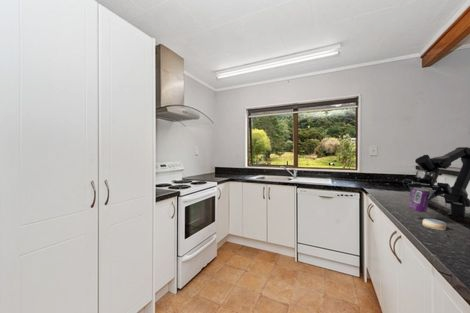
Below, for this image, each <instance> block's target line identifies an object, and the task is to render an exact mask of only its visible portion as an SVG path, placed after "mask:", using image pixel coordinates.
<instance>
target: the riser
mask: <svg viewBox="0 0 470 313" xmlns="http://www.w3.org/2000/svg"><path fill="white" fill-rule="evenodd" d="M422 226H423V227H425V228H428V229H432V230H437V231H446V230H447V222H444V221H443V220H440V219H436V218H423V219H422Z"/></svg>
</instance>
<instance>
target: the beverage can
mask: <svg viewBox="0 0 470 313" xmlns="http://www.w3.org/2000/svg"><path fill="white" fill-rule="evenodd" d="M430 193H431V191H430V189H429V188H422V187H414V189H413V190H412V193H411V197H410V199H409V205H408V208H409V209H410V210H411V211H413V212H415V213H421V214H422V213H423V214H424V213H427V211H428V207H429V202H430V200H428V196H429V194H430Z"/></svg>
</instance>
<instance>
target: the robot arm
mask: <svg viewBox="0 0 470 313" xmlns="http://www.w3.org/2000/svg"><path fill="white" fill-rule="evenodd" d="M458 159H460V161H461V163H462V166H461V168H460V170H459V172H458V174H457V177H456V179H455V181H454V184H453V185H452V186H450V184H449V183H447V182H438V178H439V176H442V175H443V173H442V172H441V169H442V170H443V169H444V170H446V169H448V168H450V167H451V166H452V162H453V163H454V162H455V161H456V160H458ZM415 163H416V165H417V166H418V167H419V168H420V170H422V171H419V170H418V171H416V173H415V176H414V177H415V178H416V179H417V182H415V181H414V180H413V179H407V178H404V179H403V180H402V181H401V182H402V185H403V186H404V188H405V189H406V190H409V193H410V194H409V196H410V198H411V193H412V190H413V189H414V187H418V188H424V189H428V190H430V189H431V191H430V194H429V196H428V200H429V201H431V200H432V199H435V198H436V197H439V196H441V195H442V196H443V199H444V201H445V204H449V213H448V212H447V215H448V216H449V215H450V216H453V217H458V218H467V217H469V215H468V214H466V208H470V198H468V196H469V194H468V192H467V188H468V185H469V183H470V147H468V146H461V147H460V146H459V147H456V148H455V149H453V150H451V151H449V152H447V153H445V154H444V155H441V156H440V155H439V156H434V157H430V155H429V154H423V155H422V156H419V157H418V158H415Z"/></svg>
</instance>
